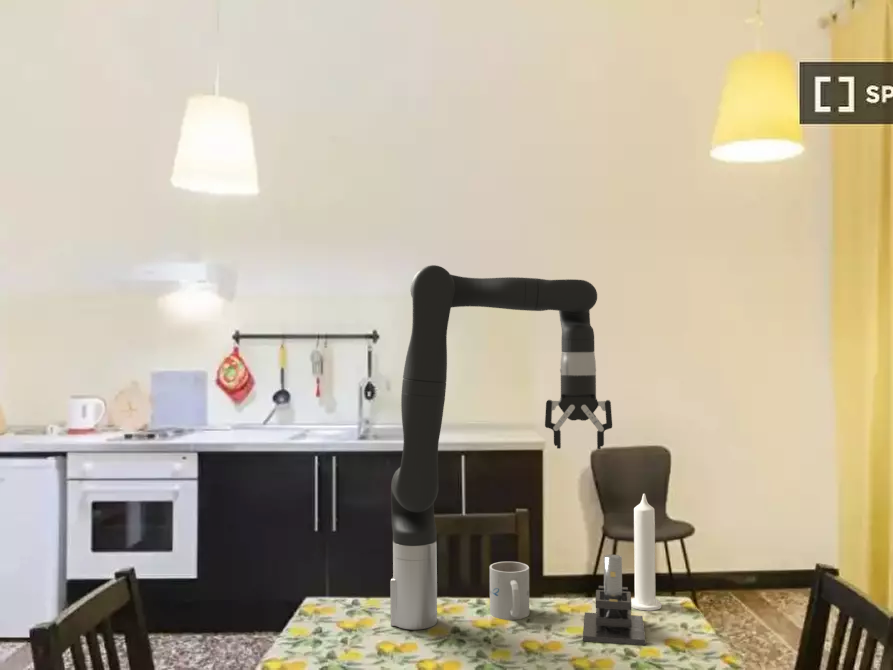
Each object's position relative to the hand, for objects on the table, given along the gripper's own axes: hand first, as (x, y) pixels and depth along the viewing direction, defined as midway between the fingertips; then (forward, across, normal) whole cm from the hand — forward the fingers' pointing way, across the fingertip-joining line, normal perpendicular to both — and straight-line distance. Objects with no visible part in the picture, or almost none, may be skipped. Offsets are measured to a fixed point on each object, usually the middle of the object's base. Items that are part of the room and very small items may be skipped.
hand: (578, 448), depth 171 cm
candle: (+36, -14, -10) cm, 40 cm away
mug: (+36, +15, +2) cm, 39 cm away
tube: (+35, -7, +7) cm, 36 cm away
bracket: (+36, -7, +7) cm, 37 cm away
